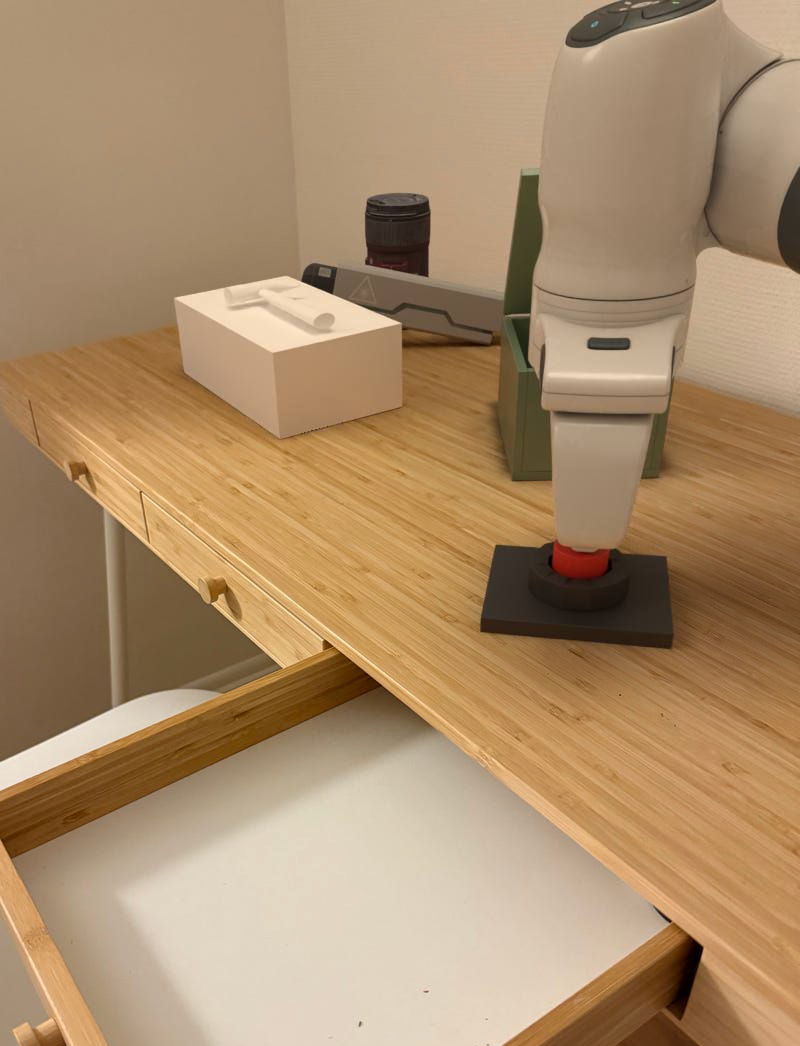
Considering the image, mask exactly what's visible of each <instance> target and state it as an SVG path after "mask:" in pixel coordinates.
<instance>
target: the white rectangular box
mask: <svg viewBox="0 0 800 1046" xmlns="http://www.w3.org/2000/svg"><path fill="white" fill-rule="evenodd" d="M173 301H174V310H175V316H176V323H177V331H178V338H179V346H180V351H181V352H180V353H181V359H182V365H183V366H182V368H183V373H184V374H185V375H187V376H188V377H190V378H191V379H193V380H194V381H195V382H197V383H199V384H200V385H201V386H203V387H205V389H207V390H209V391H210V393H212V394H215V396H217V397H219V399H222V400H223V401H224V402H226V403H227V404H228V405H230V406H232V407H233V408H235V409H236V410H237V411H238V412H240V413H242V414H243V415H244V416H246V417H247V418H249V419H250V420H251V421H253V422H254V423H256V424H257V425H259V426H260V427H262V428H263V429H264V430H266V431H267V432H269V433H270V434H272V435H273V436H274V437H276V438H277V439H279V440H283V439H286V438H290V437H295V436H297V435H301V433H302V434H305V433H309V432H312V431H311V430H313V431H316V430H315V429H317V430H320V429H324V428H328V427H332V426H335V425H339V424H342V422H343V423H346V422H350V421H353V420H354V421H355V420H358V419H361V418H364V417H368V416H373V415H377V414H380V413H384V412H388V411H391V410H395V409H398V408H402V407H403V332H402V331H403V329H402V323H400V322H397V321H395V320H392V319H390V318H388V317H385V316H383V315H380V314H378V313H375V312H373V311H371V310H368V309H366V308H363V307H361V306H358V305H356V304H354V303H351V302H349V301H346V300H344V299H342V298H339V297H337V296H334V295H332V294H329V293H327V292H325V291H322V290H320V289H317V288H315V287H312V286H310V285H308V284H305V283H303V282H301V280H299V279H295V278H293V277H290V276H288V275H283V276H279V277H273V278H268V279H263V280H258V281H252V282H247V283H241V284H236V285H231V286H227V287H221V288H216V289H214V290H213V289H212V290H207V291H202V292H196V293H192V294H185V295H181V296H177V297H173ZM327 426H328V427H327ZM323 427H324V428H323ZM319 428H320V429H319ZM308 431H309V432H308ZM304 432H305V433H304Z"/></svg>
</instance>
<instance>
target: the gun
mask: <svg viewBox="0 0 800 1046" xmlns="http://www.w3.org/2000/svg"><path fill="white" fill-rule="evenodd" d="M300 282H303V283H305V284H308V285H310V286H312V287H315V288H317V289H320V290H322V291H325V292H327V293H329V294H332V295H334V296H337V297H339V298H342V299H344V300H346V301H349V302H351V303H354V304H356V305H358V306H361V307H363V308H366V309H368V310H371V311H373V312H375V313H378V314H380V315H383V316H385V317H388V318H390V319H392V320H395V321H397V322H400V323H402V328H405V329H406V330H411V331H415V332H421V333H426V334H430V335H435V336H440V337H446V338H451V339H456V340H459V341H466V342H471V343H476V344H480V345H486V346H490V345H491V344H492V342H493V338H494V332H496V333H501V331H502V317H508V316H511V315H512V314H507V315H503V311H502V307H503V300H504V293H505V292H502V291H497V290H493V289H488V288H483V287H478V286H472V285H468V284H463V283H458V282H452V281H447V280H444V279H443V280H442V279H439V278H434V277H430V276H429V277H424V276H419V275H414V274H409V273H404V272H399V271H394V270H389V269H384V268H379V267H374V266H369V265H365V263H360V262H359V263H358V262H353V261H349V260H345V259H344V260H343V259H339V260H338V263H337V266H332V265H328V264H322V263H318V262H313V263H310V264H308V265H306V267H305V268H304V270H303V272H302V276H301V279H300ZM405 329H404V330H405Z"/></svg>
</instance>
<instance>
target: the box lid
mask: <svg viewBox="0 0 800 1046" xmlns="http://www.w3.org/2000/svg"><path fill="white" fill-rule="evenodd" d="M539 170H540V167H529V168H527V167H526V168H521V169H520V173H519V182H518V188H517V189H518V190H517V197H516V204H515V205H516V206H515V211H514V217H513V225H512V235H511V242H510V248H509V255H508V263H507V271H506V278H505V286H504V292H503V293H504V300H503V307H502V311H503V315H505V316H506V315H507V314H511V315H531V301H532V283H533V273H534V268H535V265H536V262H537V259H538V256H539V253H540V250H541V245H542V239H543V224H542V217H541V212H540V208H539V202H538V186H539Z"/></svg>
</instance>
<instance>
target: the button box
mask: <svg viewBox="0 0 800 1046" xmlns="http://www.w3.org/2000/svg"><path fill="white" fill-rule="evenodd" d="M554 542H555V541H550V542H546V543H544V544H543V545H542V546H540V547H535V546H523V545H511V544H509V545H508V544H495V545H494V549H493V555H492V559H491V564H490V570H489V574H488V578H487V579H488V580H487V585H486V590H485V594H484V598H483V599H484V600H483V605H482V608H481V614H480V622H479V625H480V626H479V632H480V633H485V634H495V635H496V634H497V635H509V636H519V637H530V638H539V639H554V640H563V641H574V642H587V643H596V644H597V643H598V644H607V645H608V644H609V645H618V646H619V645H620V646H629V647H630V646H631V647H639V648H641V647H642V648H653V649H665V650H672V647H673V642H674V641H673V640H674V636H675V633H674V622H673V611H672V601H671V600H672V599H671V590H670V589H671V588H670V579H669V578H670V577H669V569H668V568H669V567H668V556H666V555H654V554H642V553H641V554H639V553H625V552H621V551H620V550H619V549H618V548H616V549H610V552H609V559H608V567H607V571H606V573H605V574H604V575H603V576H600V577H595V578H590V579H579V578H570V577H567V576H564V575H562V574H559V573H556V572H555V571H554V570H553V567H552V559H553V549H554Z"/></svg>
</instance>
